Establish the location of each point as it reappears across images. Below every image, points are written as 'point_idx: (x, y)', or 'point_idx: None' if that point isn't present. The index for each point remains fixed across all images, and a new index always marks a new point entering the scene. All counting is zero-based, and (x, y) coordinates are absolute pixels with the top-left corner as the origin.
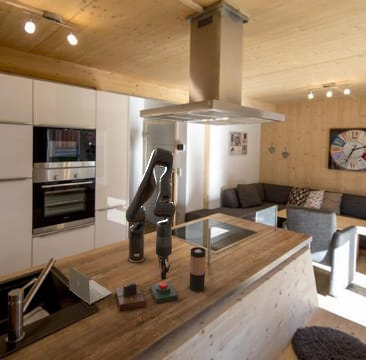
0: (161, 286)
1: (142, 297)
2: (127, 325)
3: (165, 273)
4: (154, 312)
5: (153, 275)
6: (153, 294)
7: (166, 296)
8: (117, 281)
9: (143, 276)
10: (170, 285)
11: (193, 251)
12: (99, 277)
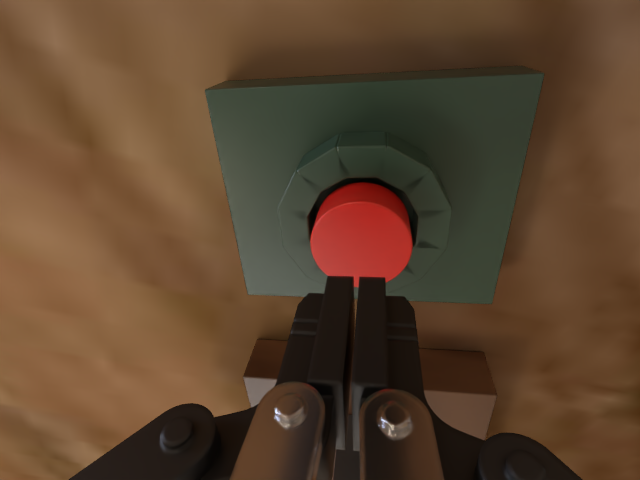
0: (395, 272)
1: (446, 398)
2: (620, 456)
3: (422, 389)
4: (598, 316)
5: (9, 187)
6: None
7: (502, 209)
8: (136, 407)
9: (45, 267)
10: (276, 95)
11: None
12: (99, 457)
